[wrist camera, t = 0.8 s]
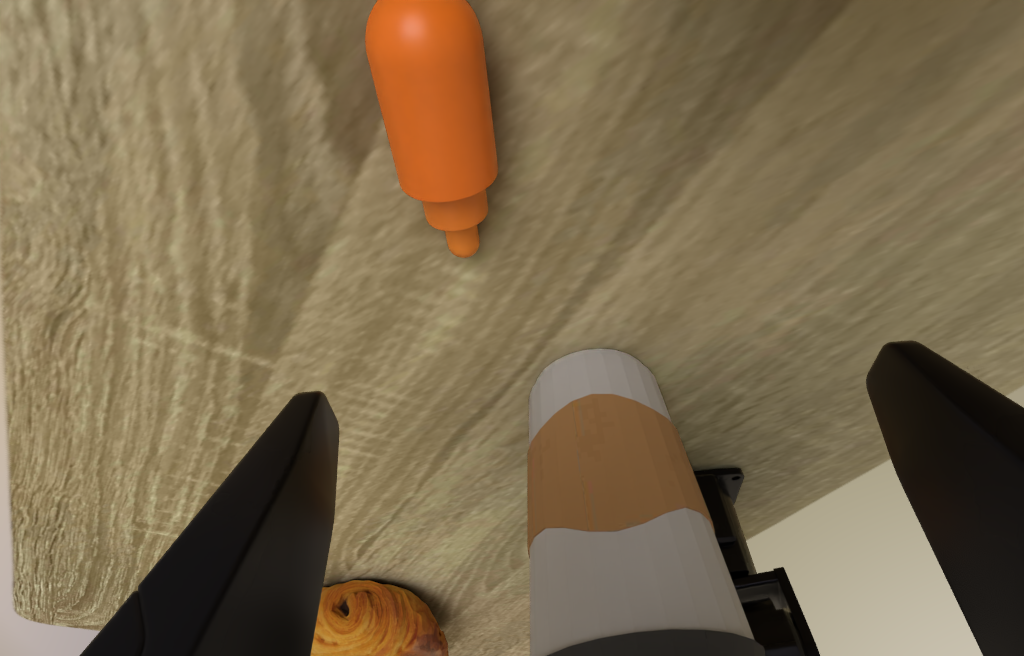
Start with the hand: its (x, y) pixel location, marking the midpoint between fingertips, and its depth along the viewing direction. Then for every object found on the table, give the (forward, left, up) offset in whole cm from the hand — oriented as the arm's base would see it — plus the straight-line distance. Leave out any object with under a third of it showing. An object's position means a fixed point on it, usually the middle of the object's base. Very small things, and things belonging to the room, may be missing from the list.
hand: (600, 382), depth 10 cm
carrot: (-1, +3, -12) cm, 13 cm away
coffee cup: (-16, -2, -13) cm, 20 cm away
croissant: (-43, +17, -13) cm, 48 cm away
